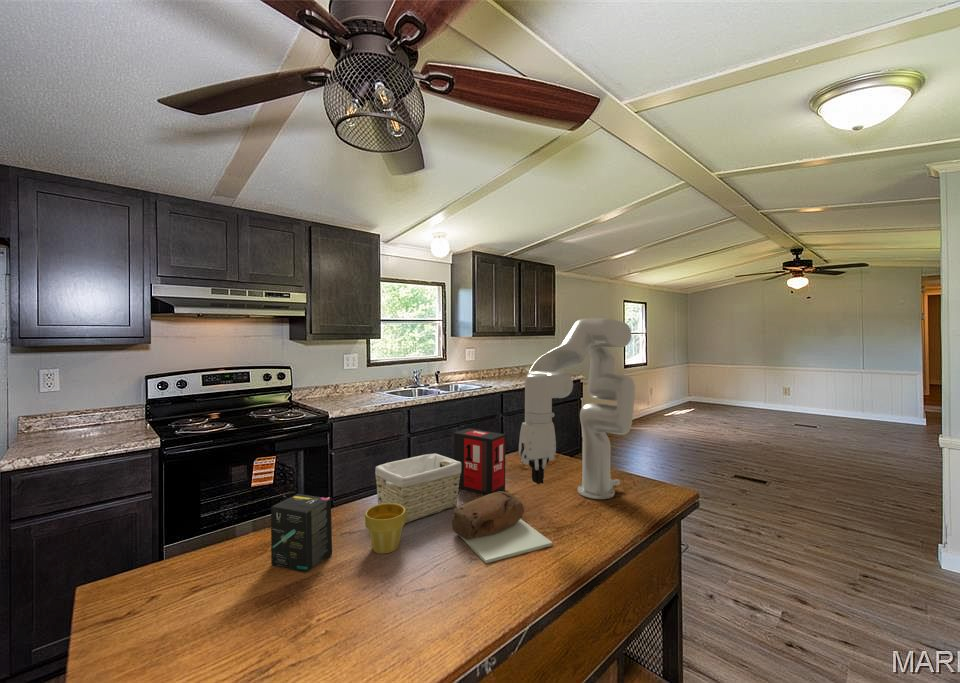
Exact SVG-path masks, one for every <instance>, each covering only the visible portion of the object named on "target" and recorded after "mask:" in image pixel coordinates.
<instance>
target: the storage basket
mask: <svg viewBox="0 0 960 683" xmlns="http://www.w3.org/2000/svg"><path fill="white" fill-rule="evenodd" d="M461 465H462V464H461V462H459V461H456V460H454V458H450V457H447V456H444V455H441V454H438V453H427V454H422V455H418V456H412V457H409V458H404V459H399V460H394V461H391V462H386V463H383V464H379V465H376V466H375V467H374V468H375V470H374V471H375V472H374V474H375V480H376V482H375V483H376V494H377V497H376V498H377V505H379V504H384V503H395V504H399V505H402V506H403V507H404V508H405V510H406V519H405V524H407V523H410V522H413V521H416V520H419V519H422V518H424V517H426V516H430V515H435V514H438V513H440V512H442V511H445V510H447V509H451V508H454V507H456V506H457V505H458V497H459V496H458V495H459V489H458V488H459V480H460V474H461ZM441 466H442V467H441Z"/></svg>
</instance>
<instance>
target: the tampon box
mask: <svg viewBox="0 0 960 683" xmlns="http://www.w3.org/2000/svg"><path fill="white" fill-rule="evenodd" d="M332 530H333V529H332V499H331V498H329V497H322V496H313V495H308V494H301V493H297V494H295V495H293V496H290V497H289V498H286V499H284V500H282V501H280V502H279V503H276V504H274V505H272V506H271V507H270V539H271V540H270V546H271V548H270V550H271V551H270V553H271V556H270V557H271V560H270V562H271V564H270V565H271V566H272V567H276V568H281V569H287V570H289V571H290V570H291V571H295V572H301V573H304V574H307V573H309V572H310V571H311V570H313V569H314V568H315V567H317V566H319V565H320V564H321V563H322V562H323V561H325V560H326V559H327V558H329V557H330V556H331V555H332V554H333V540H332V539H333V537H332V536H333V534H332V533H333V532H332Z"/></svg>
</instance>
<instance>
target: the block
mask: <svg viewBox="0 0 960 683" xmlns="http://www.w3.org/2000/svg"><path fill="white" fill-rule="evenodd" d="M524 511H525V510H524V504H523V503H522V501H520V499H519V498H517V497H516V496H515V495H513V494H511V493H509V492H507V491H498V492H494V493H491V494H488V495H485V496H484V495H482V496H481V497H478V498H475V499H473V500H471V501H468V502H466V503H464V504H463V505H462V506H460V507H457V508H454V510H453V517H452V520H451V527H452V530H453V531H454V533H455V534H456V535H458V536H459V535H460V536H461V537H463V538H465V539H472V538H475V537H478V536H479V537H481V536H486V535H490V534H494V533H496V532H499V531H501V530H503V529H505V528H507V527H509V526H511V525H513V524H515V523H517V522H518V521H519V520H520V519H522V516H523V515H524ZM460 536H459V537H460ZM461 537H460V538H461Z"/></svg>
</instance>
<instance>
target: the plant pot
mask: <svg viewBox="0 0 960 683" xmlns="http://www.w3.org/2000/svg"><path fill="white" fill-rule="evenodd" d="M405 519H406V510H405V508H404V507H403V506H402V505H399V504H395V503H384V504H379V505H378V504H375V505H373V506H371V507H369V508H367V510H366V511H365V513H364V522H365V528H366V530H368V532H369V533H368V534H369V537H370V542H371V547H372V550H373V552H375V553H376V554H389V553H392V552H394V551H396V550H397V549H398V548H399V545H400V542H401V541H400V540H401V535H402V533H403V532H402V530H403V527H404V525H405V524H406V523H405Z"/></svg>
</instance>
